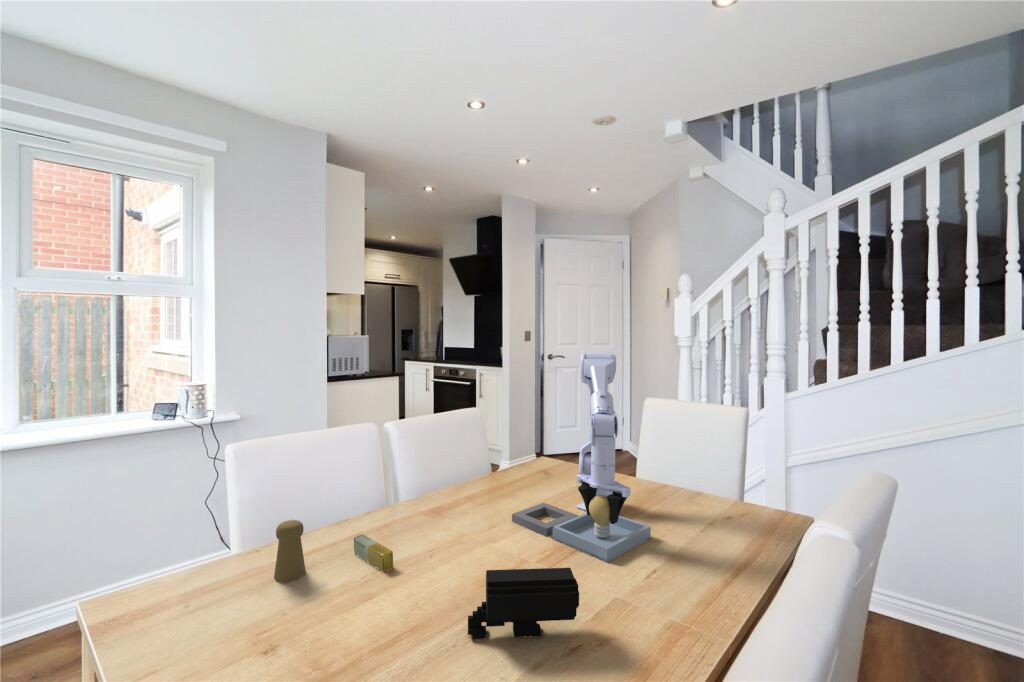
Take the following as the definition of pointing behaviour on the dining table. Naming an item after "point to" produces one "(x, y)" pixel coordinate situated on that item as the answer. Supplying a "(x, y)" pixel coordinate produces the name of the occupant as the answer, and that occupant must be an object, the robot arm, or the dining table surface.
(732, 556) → the dining table surface
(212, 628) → the dining table surface
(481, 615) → the security camera
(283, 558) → the cork
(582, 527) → the parts tray
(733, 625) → the dining table surface
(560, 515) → the socket block
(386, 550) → the medication box
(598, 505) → the light bulb
